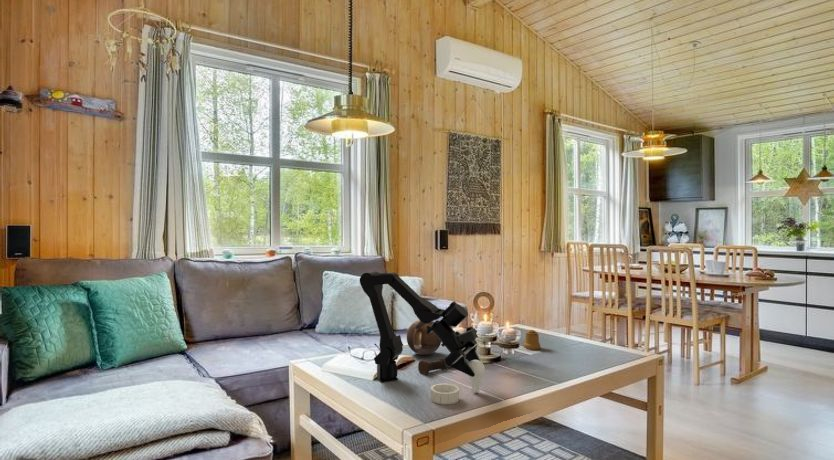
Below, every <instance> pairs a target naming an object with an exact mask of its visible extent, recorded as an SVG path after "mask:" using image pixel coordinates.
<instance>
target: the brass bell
mask: <svg viewBox="0 0 834 460" xmlns="http://www.w3.org/2000/svg"><path fill="white" fill-rule="evenodd" d="M524 339H525V340H524V343H523V347H524V349H525V348H526V350H528V349H531V350H530V351H539V349H541V344H540V340H539V339H540V338H539V333H538V332H537V331H536V330H534V329H530V330H529V331H527V332H526V333H525V338H524Z"/></svg>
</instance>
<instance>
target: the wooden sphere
mask: <svg viewBox="0 0 834 460" xmlns="http://www.w3.org/2000/svg"><path fill="white" fill-rule="evenodd" d="M434 322H435V321H432V322H430V323H426V324H424V323H422V322H421V321H420V320H419V319H418V320H415V321H413V323H412V324H411V325H410V326H409V327H408V329H407V331H406V343H407V345H408V347H409V348H410V350H411V351H412V352H414V353H415V354H417V355H420V356H428V355H432V354H434V353H435V352H437V350H438V349H439V348H440V346H441V344H442V342H441V341H440V339H439V338H438V337H437V336H436V335H435V334H434V332H431V333H429V334H427V326H428V325H432V324H433V323H434Z"/></svg>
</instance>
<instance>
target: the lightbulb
mask: <svg viewBox="0 0 834 460" xmlns="http://www.w3.org/2000/svg"><path fill="white" fill-rule="evenodd" d="M467 363H468V365H469V366H470V367H471V369H472V370H473V372H474V374H475V376H474V377H471V376H469V375H467V376H468V377H469V380H470V387H471V392H473V393H474V394H477V393H478V392H480V387H481V381H482V379H483V376H484V374H485V371H486V368H485V365H484V363H483V362H482V361H481V360H480V361H479V360H472V361H470V362H469V361H468V362H467Z"/></svg>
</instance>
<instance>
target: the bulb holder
mask: <svg viewBox="0 0 834 460" xmlns="http://www.w3.org/2000/svg"><path fill="white" fill-rule="evenodd" d="M430 401H431V402H432V403H435V404H438V405H442V406H447V405H449V406H450V405H451V406H452V405H454V404H457V403H459V402H460V387H458V386H457V385H455V384H452V383H438V384H433V385H431V386H430Z"/></svg>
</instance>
